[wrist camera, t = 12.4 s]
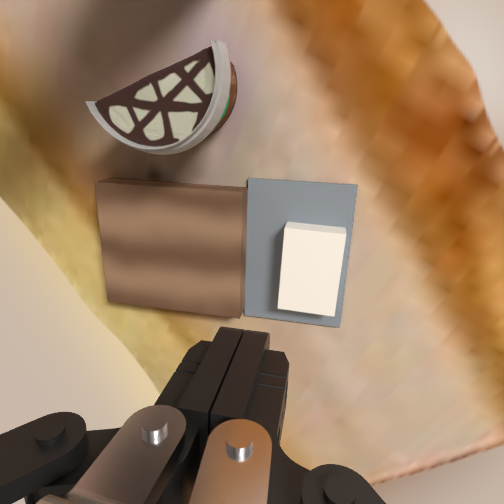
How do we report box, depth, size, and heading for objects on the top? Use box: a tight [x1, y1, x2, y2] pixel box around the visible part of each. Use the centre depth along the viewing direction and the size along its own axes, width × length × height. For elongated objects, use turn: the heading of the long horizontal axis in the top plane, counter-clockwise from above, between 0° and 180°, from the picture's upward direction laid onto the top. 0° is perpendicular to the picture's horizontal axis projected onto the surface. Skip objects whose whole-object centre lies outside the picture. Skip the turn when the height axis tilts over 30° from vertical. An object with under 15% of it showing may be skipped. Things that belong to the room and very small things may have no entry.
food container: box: [85, 40, 237, 155], centre depth 33 cm, size 12×6×10 cm, turn 110°
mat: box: [244, 178, 358, 328], centre depth 41 cm, size 16×11×1 cm
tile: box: [278, 222, 346, 317], centre depth 39 cm, size 9×6×2 cm, turn 177°
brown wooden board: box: [95, 178, 248, 319], centre depth 42 cm, size 14×16×3 cm
